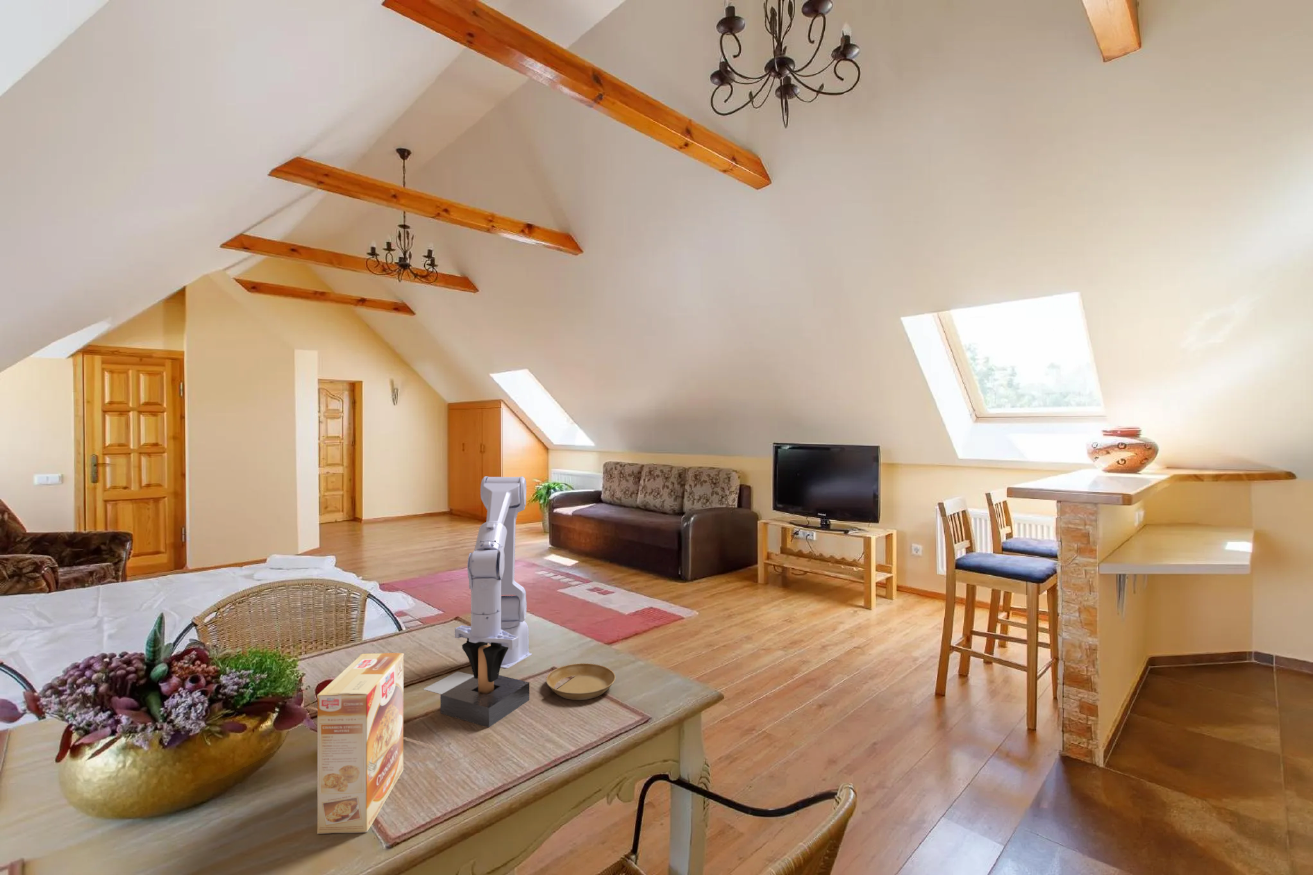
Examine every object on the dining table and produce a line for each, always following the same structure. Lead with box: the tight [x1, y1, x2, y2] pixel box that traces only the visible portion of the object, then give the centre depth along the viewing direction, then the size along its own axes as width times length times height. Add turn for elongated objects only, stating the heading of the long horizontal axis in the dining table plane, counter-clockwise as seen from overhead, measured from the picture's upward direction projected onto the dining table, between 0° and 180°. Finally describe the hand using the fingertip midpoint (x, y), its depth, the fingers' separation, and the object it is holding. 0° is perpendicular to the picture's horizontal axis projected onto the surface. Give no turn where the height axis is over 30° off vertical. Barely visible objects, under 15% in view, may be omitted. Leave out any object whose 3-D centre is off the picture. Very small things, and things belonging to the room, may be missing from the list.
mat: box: [422, 671, 474, 695], centre depth 127 cm, size 10×10×1 cm
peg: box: [478, 644, 494, 695], centre depth 117 cm, size 3×3×9 cm
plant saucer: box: [545, 662, 616, 701], centre depth 126 cm, size 15×15×3 cm
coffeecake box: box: [316, 652, 405, 835], centre depth 88 cm, size 15×7×20 cm, turn 4°
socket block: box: [439, 674, 530, 728], centre depth 117 cm, size 12×12×4 cm
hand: (486, 678), depth 117 cm, fingers closed on peg, 3 cm apart
